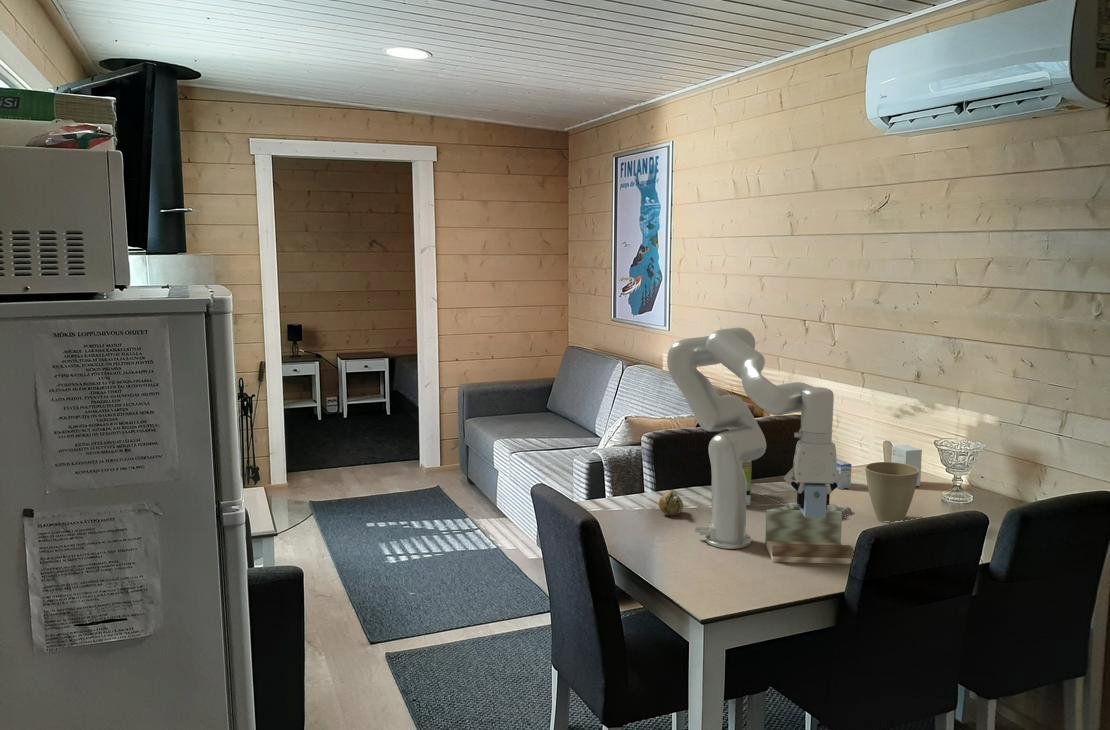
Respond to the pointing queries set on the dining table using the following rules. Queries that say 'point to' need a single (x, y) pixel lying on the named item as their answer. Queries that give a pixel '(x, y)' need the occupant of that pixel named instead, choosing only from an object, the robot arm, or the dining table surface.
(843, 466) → the medicine box
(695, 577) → the dining table surface
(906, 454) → the small box
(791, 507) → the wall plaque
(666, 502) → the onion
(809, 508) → the cabinet block
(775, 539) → the upright panel stand
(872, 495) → the plant pot
